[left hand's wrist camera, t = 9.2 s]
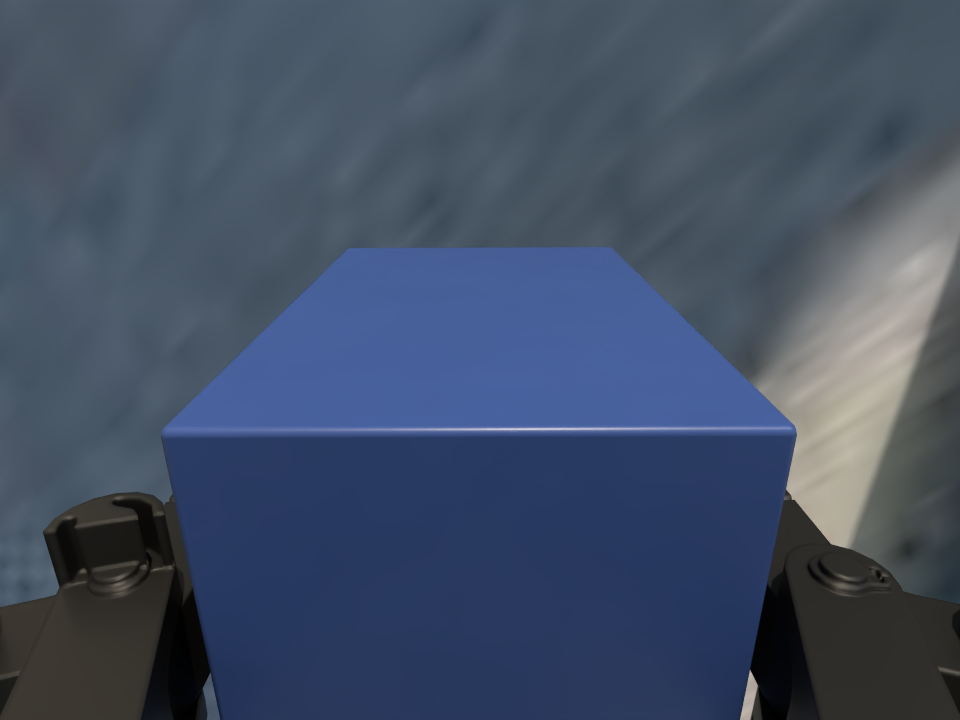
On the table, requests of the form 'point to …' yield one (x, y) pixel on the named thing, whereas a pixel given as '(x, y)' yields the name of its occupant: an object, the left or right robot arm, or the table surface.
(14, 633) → the left robot arm
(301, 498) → the bar
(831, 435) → the table surface
